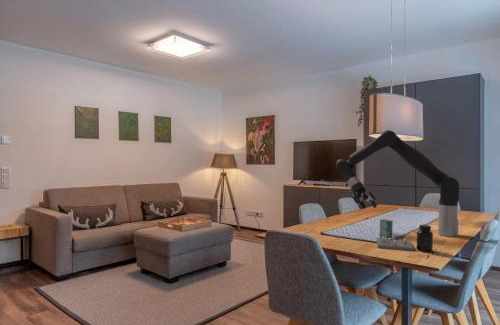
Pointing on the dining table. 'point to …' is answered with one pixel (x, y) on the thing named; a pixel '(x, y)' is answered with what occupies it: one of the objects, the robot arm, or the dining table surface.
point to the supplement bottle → (424, 239)
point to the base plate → (394, 244)
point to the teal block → (386, 228)
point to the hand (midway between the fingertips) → (370, 207)
